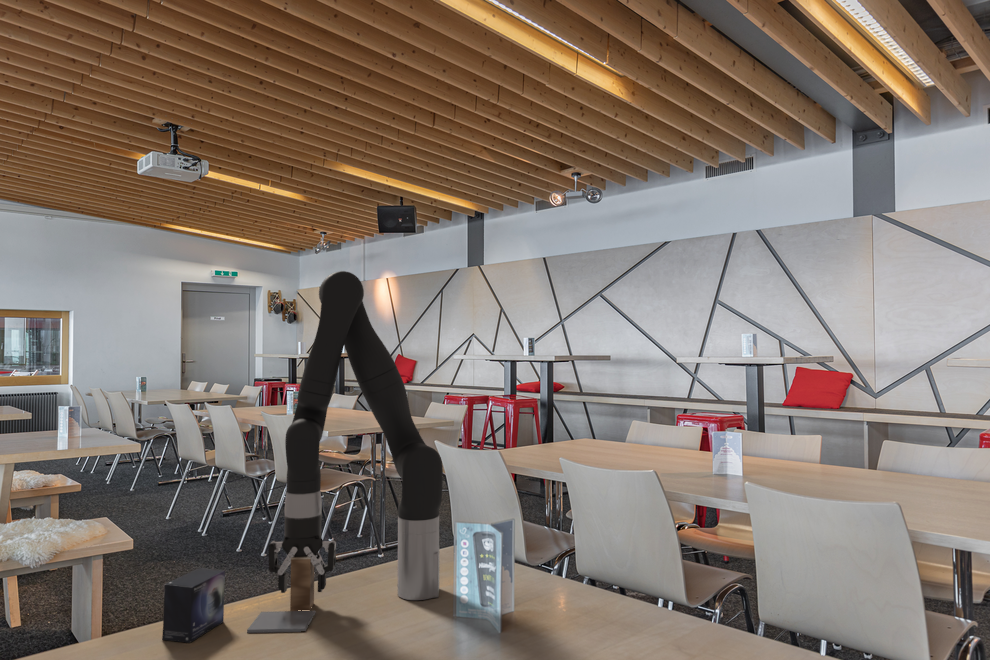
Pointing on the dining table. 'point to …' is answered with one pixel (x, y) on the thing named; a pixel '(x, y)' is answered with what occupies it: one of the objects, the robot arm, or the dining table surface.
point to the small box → (193, 604)
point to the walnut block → (301, 584)
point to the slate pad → (281, 621)
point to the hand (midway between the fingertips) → (302, 591)
